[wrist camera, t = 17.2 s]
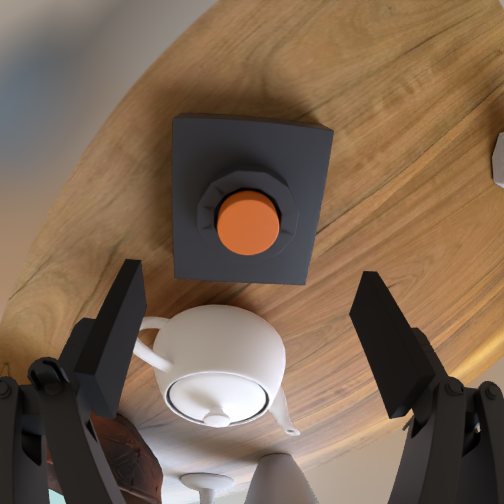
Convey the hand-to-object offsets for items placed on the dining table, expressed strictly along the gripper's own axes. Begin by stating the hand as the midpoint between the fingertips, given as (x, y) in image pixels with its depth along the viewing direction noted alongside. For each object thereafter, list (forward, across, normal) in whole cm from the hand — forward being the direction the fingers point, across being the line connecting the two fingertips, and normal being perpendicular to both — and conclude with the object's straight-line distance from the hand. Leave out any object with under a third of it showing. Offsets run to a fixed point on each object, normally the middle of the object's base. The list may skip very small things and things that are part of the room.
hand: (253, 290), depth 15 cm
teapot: (+13, -1, -17) cm, 21 cm away
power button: (+8, 0, 0) cm, 8 cm away
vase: (+13, +10, -53) cm, 55 cm away
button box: (+13, 0, 0) cm, 13 cm away
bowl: (+13, -22, -40) cm, 47 cm away
